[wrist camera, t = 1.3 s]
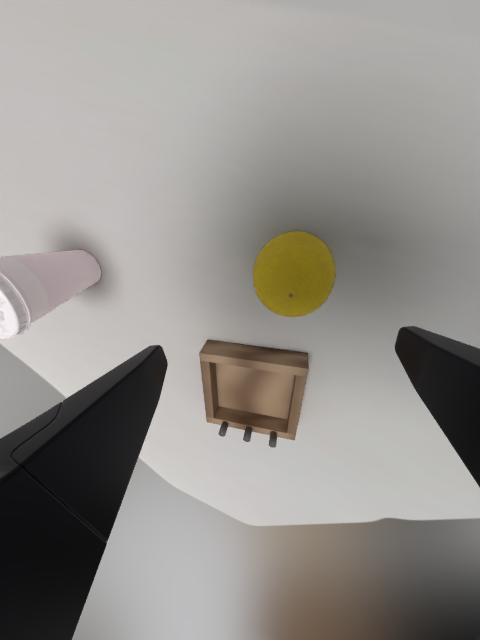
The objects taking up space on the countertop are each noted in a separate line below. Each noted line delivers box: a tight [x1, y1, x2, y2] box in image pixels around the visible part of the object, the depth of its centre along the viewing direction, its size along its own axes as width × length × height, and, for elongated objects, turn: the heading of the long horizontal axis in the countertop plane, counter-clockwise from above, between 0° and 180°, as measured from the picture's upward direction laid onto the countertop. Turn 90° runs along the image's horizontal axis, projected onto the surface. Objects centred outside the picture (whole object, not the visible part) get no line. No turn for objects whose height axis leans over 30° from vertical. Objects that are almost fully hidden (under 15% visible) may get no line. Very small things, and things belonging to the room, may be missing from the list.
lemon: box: [253, 231, 335, 317], centre depth 16 cm, size 6×6×8 cm
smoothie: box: [0, 250, 101, 339], centre depth 18 cm, size 6×6×14 cm
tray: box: [199, 340, 308, 447], centre depth 25 cm, size 11×11×4 cm
